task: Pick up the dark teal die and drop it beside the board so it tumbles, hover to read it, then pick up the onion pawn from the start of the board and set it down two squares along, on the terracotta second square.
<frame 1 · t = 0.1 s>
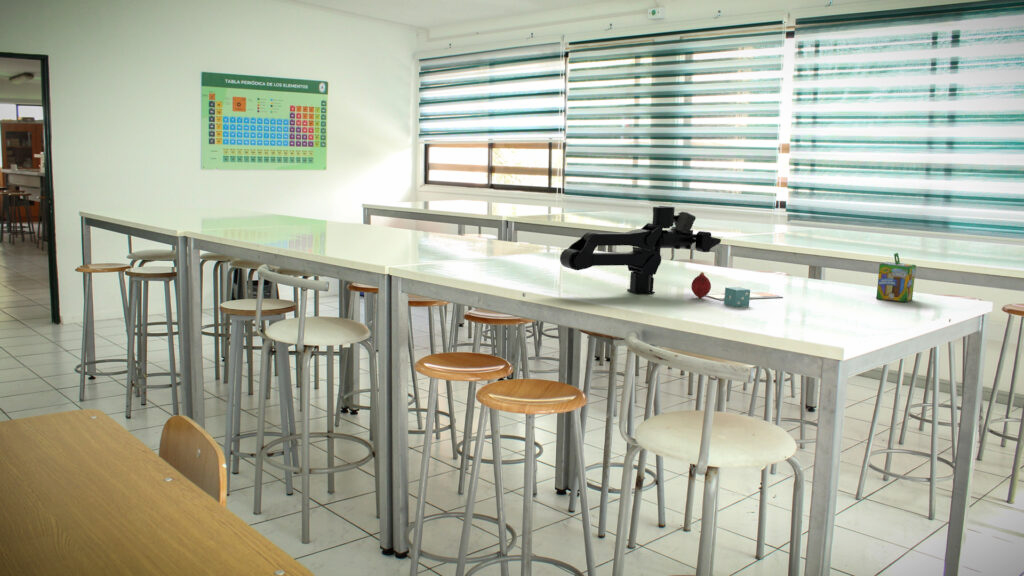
hand: (711, 239, 254), 17 cm above the table, tool horizontal, fingers open, 9 cm apart
onion: (700, 298, 241), on the table
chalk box: (894, 300, 253), on the table
die: (736, 305, 231), on the table
board: (742, 296, 247), on the table
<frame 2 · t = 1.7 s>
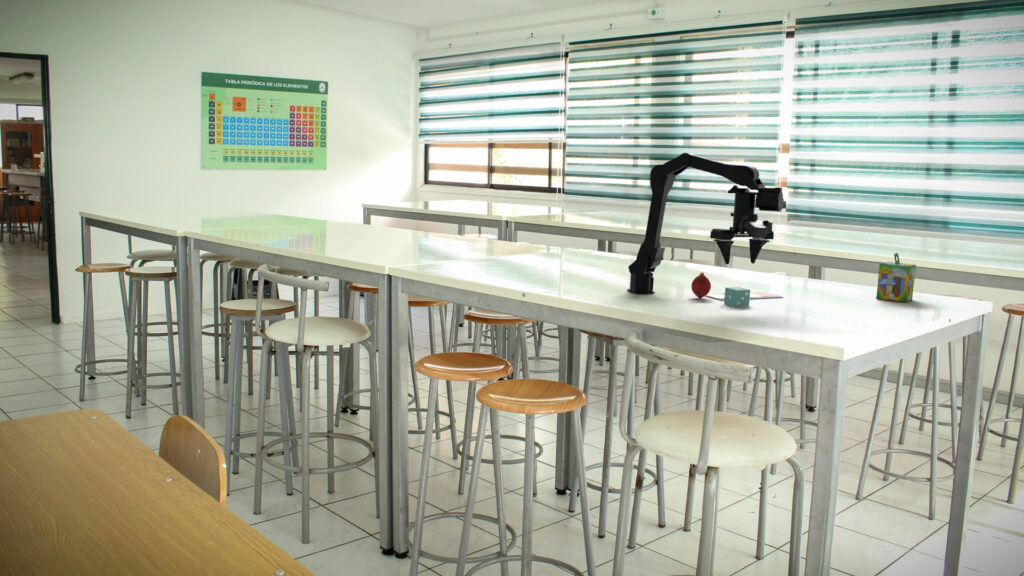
hand: (740, 263, 229), 12 cm above the table, tool pointing down, fingers open, 9 cm apart
nothing on the table moved.
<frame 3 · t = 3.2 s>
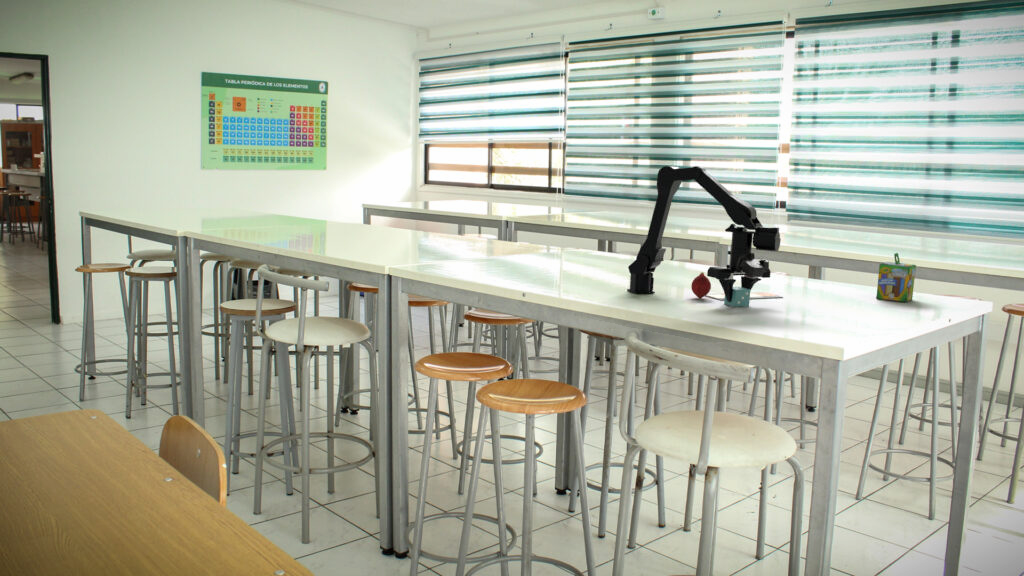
hand: (736, 301, 231), 1 cm above the table, tool pointing down, fingers closed on die, 5 cm apart
die: (736, 305, 231), on the table, touching gripper
everything else where it was.
when the fingers open (7 cm above the table, at t = 5.0 s): die drops 6 cm, on the table.
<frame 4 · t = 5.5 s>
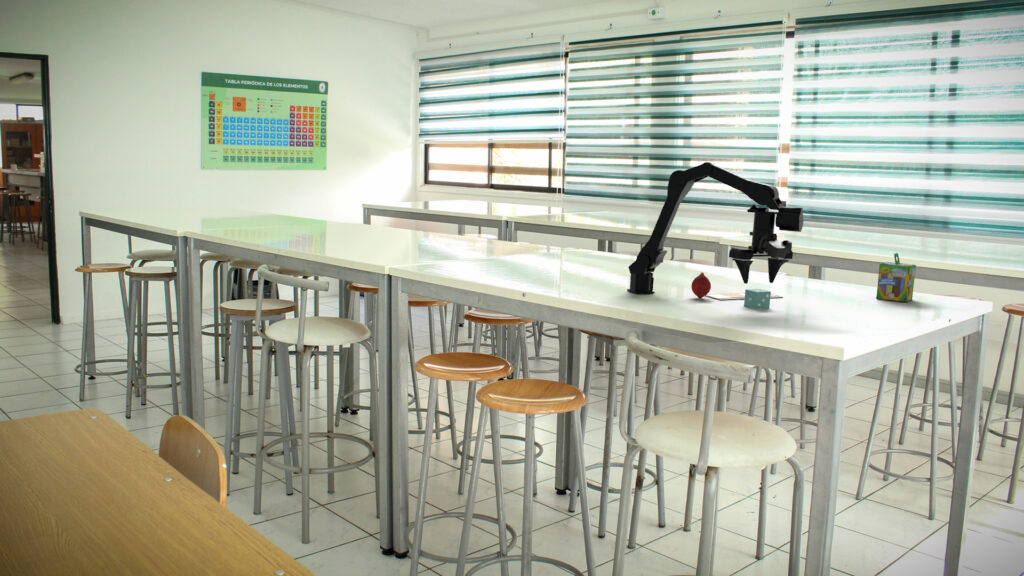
hand: (758, 283, 228), 7 cm above the table, tool pointing down, fingers open, 9 cm apart
die: (756, 307, 229), on the table
everything else where it was.
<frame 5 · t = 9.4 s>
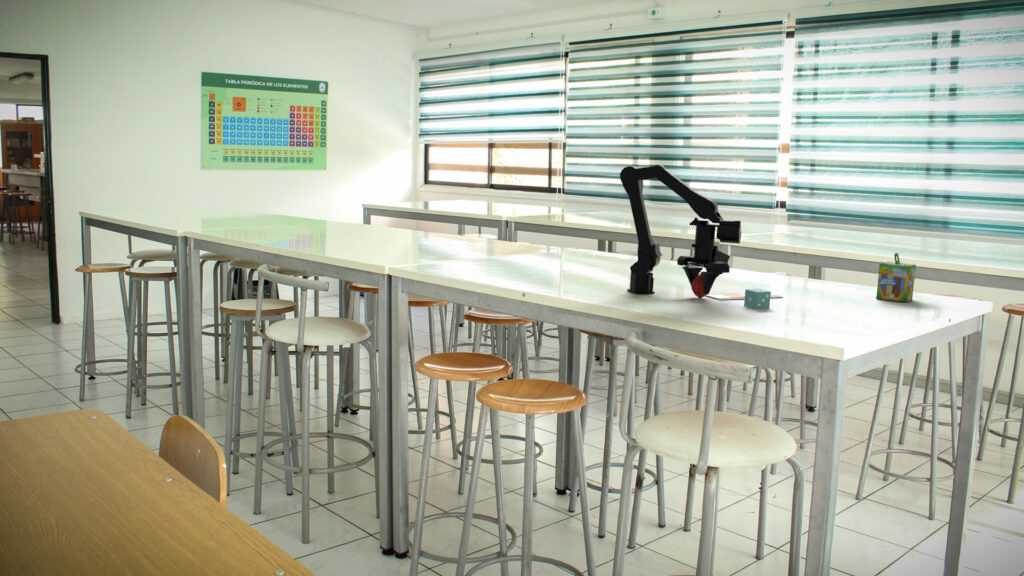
hand: (700, 292, 240), 2 cm above the table, tool pointing down, fingers closed on onion, 6 cm apart
onion: (700, 298, 241), on the table, touching gripper
everything else where it was.
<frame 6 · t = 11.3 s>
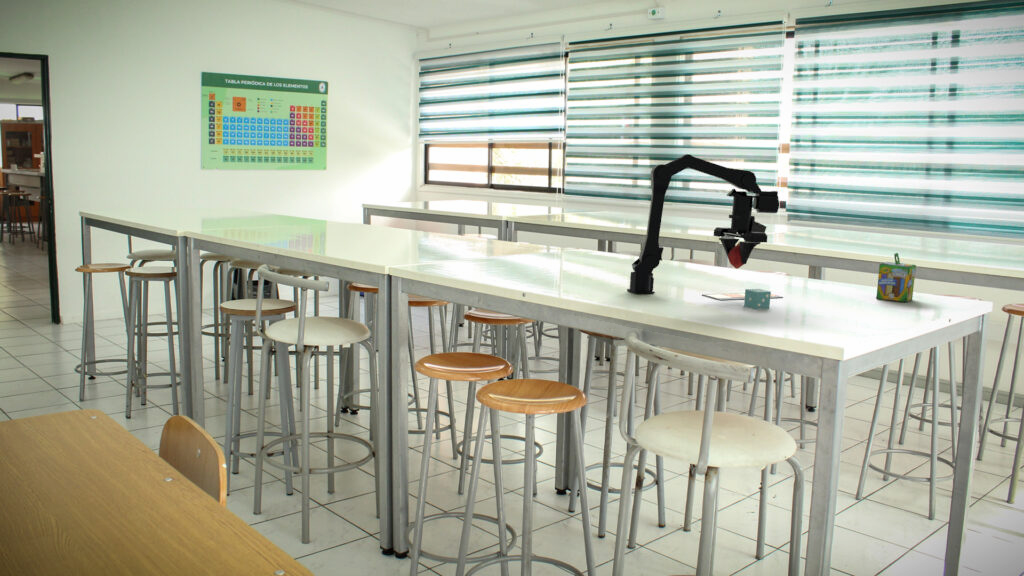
hand: (737, 262, 244), 11 cm above the table, tool pointing down, fingers closed on onion, 6 cm apart
onion: (736, 269, 244), point 9 cm above the table, touching gripper
everything else where it was.
when the fingers open (4 cm above the table, at t = 13.3 s): onion drops 1 cm, resting on board.
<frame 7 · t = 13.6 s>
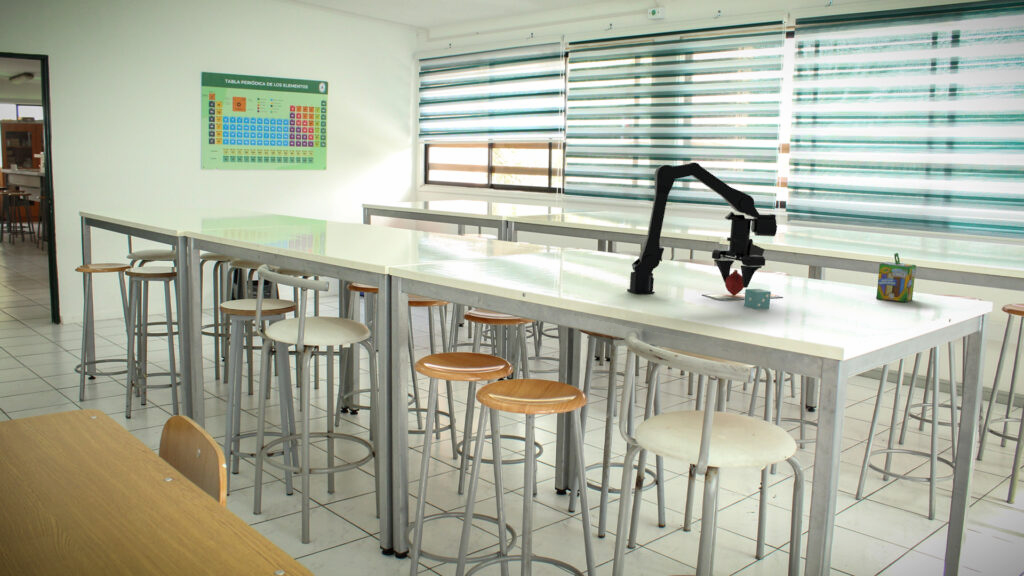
hand: (735, 285, 245), 4 cm above the table, tool pointing down, fingers open, 9 cm apart
onion: (733, 295, 246), resting on board
everything else where it was.
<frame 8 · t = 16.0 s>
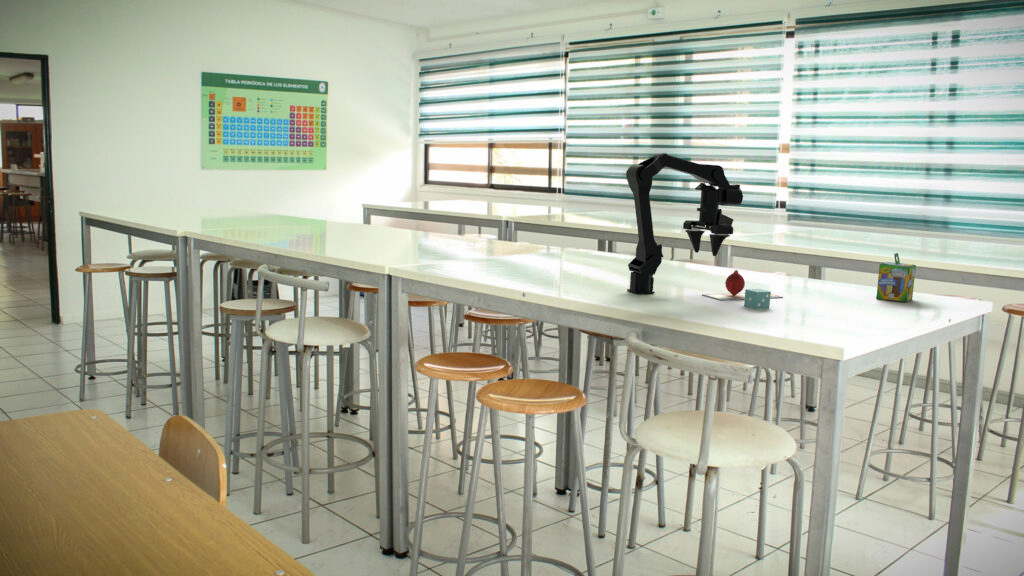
hand: (705, 254, 252), 12 cm above the table, tool pointing down, fingers open, 9 cm apart
nothing on the table moved.
at the end: onion inside the target area on the board (0.3 cm from its centre), point 0.2 cm above the board's base; die moved 5.7 cm from its start; the gripper is holding nothing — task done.
